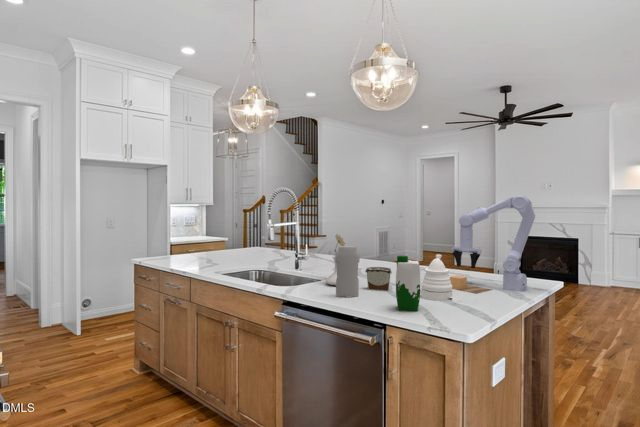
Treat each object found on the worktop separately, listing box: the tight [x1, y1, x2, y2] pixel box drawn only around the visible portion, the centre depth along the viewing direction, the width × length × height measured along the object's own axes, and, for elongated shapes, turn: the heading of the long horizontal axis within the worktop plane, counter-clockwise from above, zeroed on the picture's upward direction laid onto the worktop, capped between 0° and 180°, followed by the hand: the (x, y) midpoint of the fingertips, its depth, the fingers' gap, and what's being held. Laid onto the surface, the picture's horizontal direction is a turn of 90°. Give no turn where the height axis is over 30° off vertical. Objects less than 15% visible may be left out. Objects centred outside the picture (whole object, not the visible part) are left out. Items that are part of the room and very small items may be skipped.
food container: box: [364, 266, 393, 292], centre depth 188 cm, size 12×6×10 cm, turn 71°
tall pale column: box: [334, 245, 361, 298], centre depth 173 cm, size 11×4×22 cm, turn 95°
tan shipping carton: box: [449, 275, 468, 290], centre depth 186 cm, size 5×5×5 cm
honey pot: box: [420, 254, 453, 302], centre depth 172 cm, size 13×13×18 cm
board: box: [452, 284, 494, 295], centre depth 184 cm, size 16×14×1 cm
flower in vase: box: [325, 233, 346, 286], centre depth 198 cm, size 13×11×25 cm
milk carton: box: [395, 255, 421, 312], centre depth 153 cm, size 9×9×20 cm
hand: (465, 267), depth 195 cm, fingers open, 7 cm apart
